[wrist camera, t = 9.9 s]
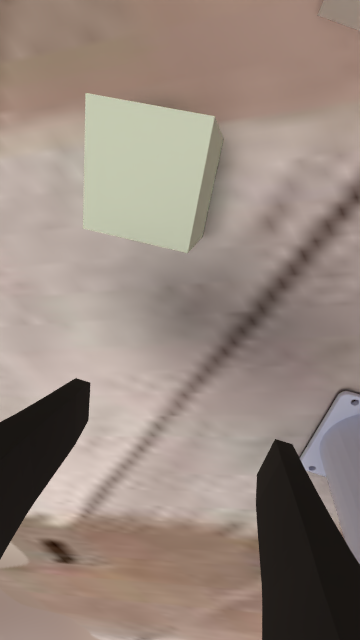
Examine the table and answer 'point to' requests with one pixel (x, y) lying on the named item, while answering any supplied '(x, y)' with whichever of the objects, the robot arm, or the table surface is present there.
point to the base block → (342, 12)
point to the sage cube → (148, 171)
